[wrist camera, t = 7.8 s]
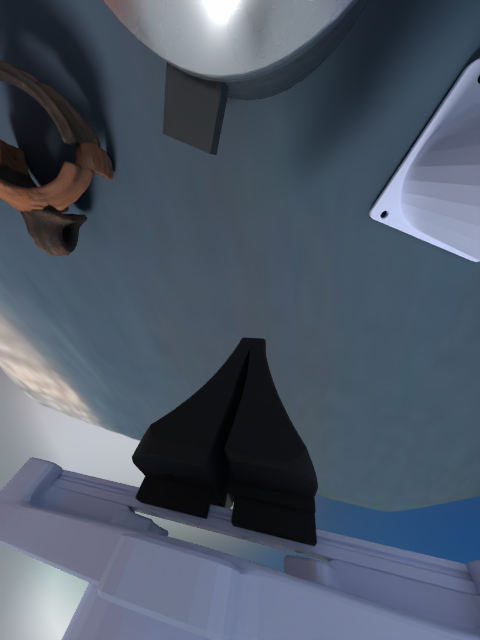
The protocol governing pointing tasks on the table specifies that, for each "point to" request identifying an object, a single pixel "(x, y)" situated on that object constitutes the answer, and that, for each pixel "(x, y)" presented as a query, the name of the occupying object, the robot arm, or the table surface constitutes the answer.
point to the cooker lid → (229, 32)
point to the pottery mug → (53, 198)
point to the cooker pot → (236, 90)
